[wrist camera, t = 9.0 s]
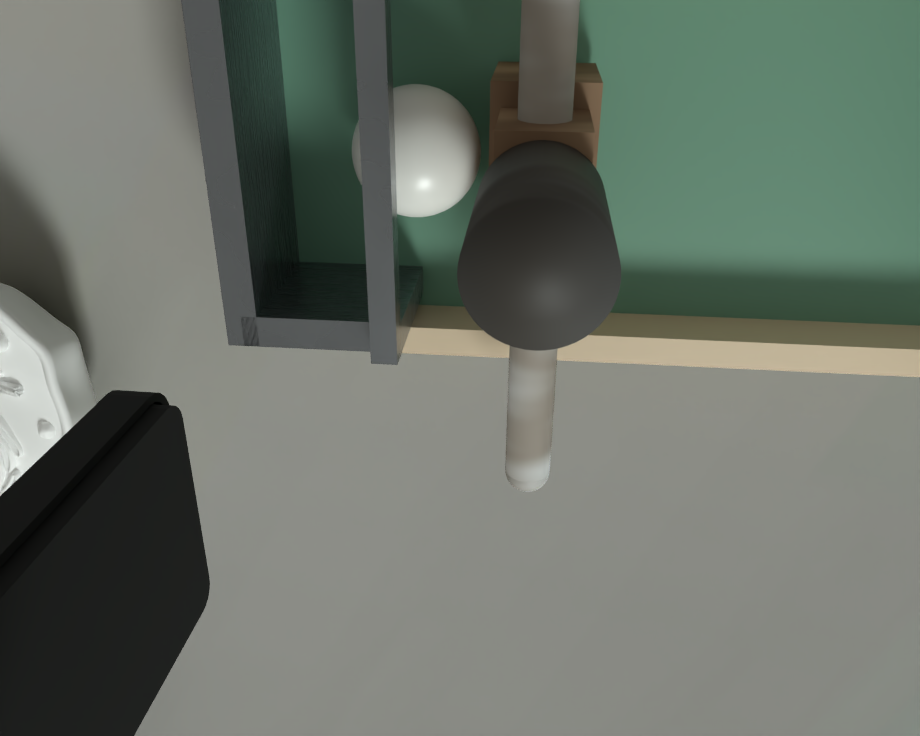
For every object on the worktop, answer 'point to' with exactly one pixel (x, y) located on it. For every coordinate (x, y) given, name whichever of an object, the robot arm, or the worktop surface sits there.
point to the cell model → (36, 383)
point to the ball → (429, 150)
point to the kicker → (540, 226)
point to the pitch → (667, 172)
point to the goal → (271, 189)
